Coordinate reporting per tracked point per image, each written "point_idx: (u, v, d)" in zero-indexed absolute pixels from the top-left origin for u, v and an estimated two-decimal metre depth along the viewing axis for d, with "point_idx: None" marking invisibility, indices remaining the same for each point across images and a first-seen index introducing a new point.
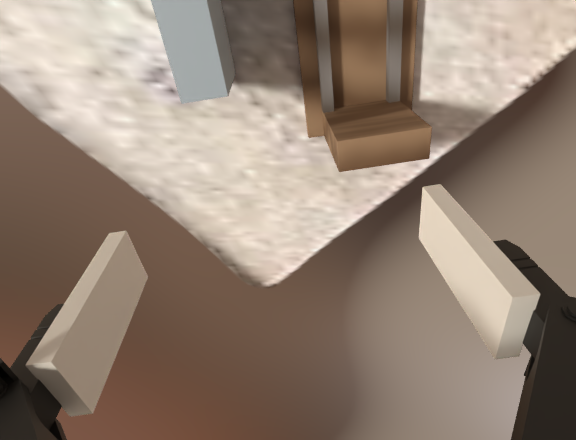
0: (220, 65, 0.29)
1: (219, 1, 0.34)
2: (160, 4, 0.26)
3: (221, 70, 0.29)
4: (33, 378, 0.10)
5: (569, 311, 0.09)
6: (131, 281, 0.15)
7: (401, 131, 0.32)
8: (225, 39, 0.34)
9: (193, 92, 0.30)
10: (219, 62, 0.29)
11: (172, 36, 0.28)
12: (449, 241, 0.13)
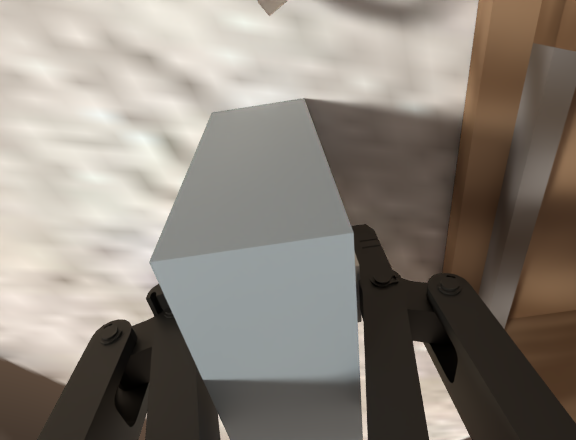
0: (359, 430, 0.11)
1: None
2: (214, 350, 0.08)
3: (359, 436, 0.11)
4: None
5: (376, 280, 0.11)
6: None
7: None
8: None
9: None
10: (359, 428, 0.11)
11: (244, 399, 0.10)
12: None
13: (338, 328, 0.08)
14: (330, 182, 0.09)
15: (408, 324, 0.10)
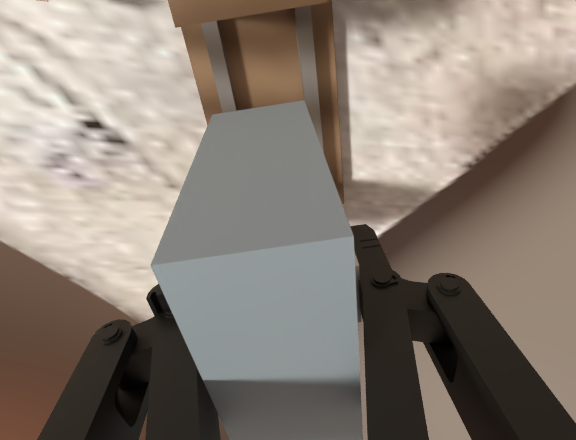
0: (359, 431, 0.11)
1: None
2: (215, 352, 0.09)
3: (359, 437, 0.11)
4: None
5: (375, 281, 0.11)
6: None
7: None
8: None
9: None
10: (359, 429, 0.11)
11: (244, 400, 0.10)
12: None
13: (338, 330, 0.08)
14: (330, 185, 0.09)
15: (408, 324, 0.10)
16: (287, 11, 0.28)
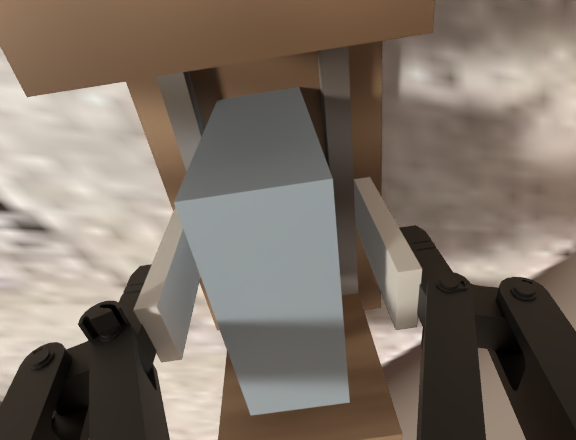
0: (344, 364, 0.13)
1: None
2: (223, 282, 0.10)
3: (345, 370, 0.13)
4: (136, 323, 0.12)
5: (442, 284, 0.10)
6: None
7: (342, 438, 0.16)
8: None
9: (279, 401, 0.14)
10: (344, 361, 0.13)
11: (246, 330, 0.12)
12: (368, 227, 0.15)
13: (323, 264, 0.10)
14: (317, 147, 0.11)
15: (474, 334, 0.09)
16: None
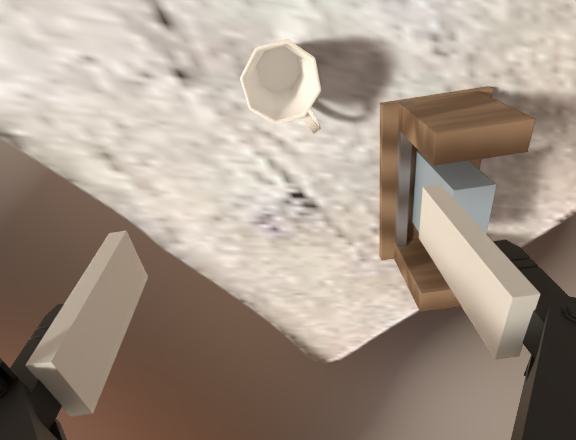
0: None
1: None
2: None
3: None
4: (33, 378, 0.10)
5: (569, 311, 0.09)
6: (131, 281, 0.15)
7: None
8: None
9: None
10: None
11: None
12: (449, 240, 0.13)
13: (486, 209, 0.35)
14: (483, 174, 0.35)
15: None
16: None
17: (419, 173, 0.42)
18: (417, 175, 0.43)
